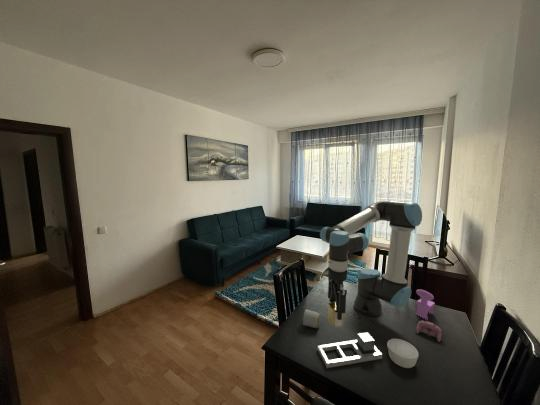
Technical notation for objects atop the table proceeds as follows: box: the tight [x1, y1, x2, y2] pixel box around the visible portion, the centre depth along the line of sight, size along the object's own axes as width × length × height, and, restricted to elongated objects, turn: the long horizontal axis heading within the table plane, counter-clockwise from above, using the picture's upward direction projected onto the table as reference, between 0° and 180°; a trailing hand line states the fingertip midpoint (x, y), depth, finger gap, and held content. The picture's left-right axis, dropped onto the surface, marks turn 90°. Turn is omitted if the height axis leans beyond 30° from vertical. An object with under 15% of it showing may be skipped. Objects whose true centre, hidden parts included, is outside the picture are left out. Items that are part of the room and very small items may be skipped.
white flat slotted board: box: [317, 339, 383, 369], centre depth 95 cm, size 25×10×2 cm, turn 100°
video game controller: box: [415, 320, 443, 343], centre depth 106 cm, size 10×5×7 cm, turn 48°
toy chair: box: [414, 289, 436, 321], centre depth 121 cm, size 8×9×15 cm
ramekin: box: [386, 338, 420, 369], centre depth 92 cm, size 11×11×5 cm
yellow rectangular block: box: [327, 302, 345, 327], centre depth 92 cm, size 5×5×7 cm
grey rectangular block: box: [356, 331, 376, 354], centre depth 96 cm, size 5×5×7 cm
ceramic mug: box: [302, 308, 322, 329], centre depth 114 cm, size 11×8×8 cm
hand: (335, 321), depth 93 cm, fingers closed on yellow rectangular block, 5 cm apart
